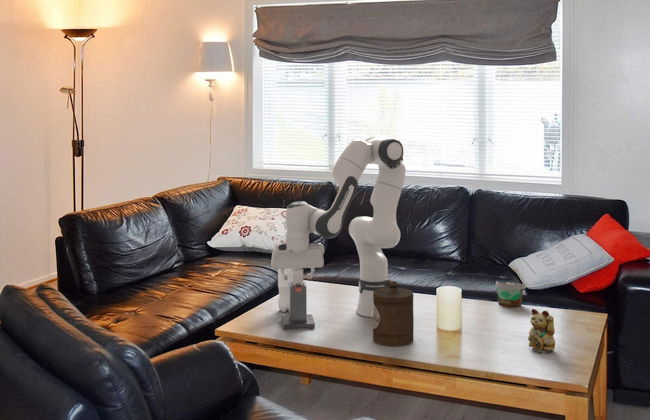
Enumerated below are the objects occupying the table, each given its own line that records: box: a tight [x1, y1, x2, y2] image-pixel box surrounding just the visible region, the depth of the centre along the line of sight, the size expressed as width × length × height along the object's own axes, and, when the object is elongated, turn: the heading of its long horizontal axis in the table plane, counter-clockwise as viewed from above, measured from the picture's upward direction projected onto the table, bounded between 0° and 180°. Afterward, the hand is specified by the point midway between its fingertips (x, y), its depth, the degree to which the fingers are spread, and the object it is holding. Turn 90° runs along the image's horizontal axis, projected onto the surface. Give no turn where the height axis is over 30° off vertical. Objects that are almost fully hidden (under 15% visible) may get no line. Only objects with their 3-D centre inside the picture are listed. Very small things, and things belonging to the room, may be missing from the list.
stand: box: [281, 281, 316, 331], centre depth 307 cm, size 12×12×17 cm
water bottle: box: [277, 268, 292, 313], centre depth 325 cm, size 7×7×25 cm
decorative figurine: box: [527, 308, 556, 354], centre depth 278 cm, size 10×8×15 cm
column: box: [292, 268, 304, 286], centre depth 307 cm, size 4×4×20 cm
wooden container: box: [372, 280, 415, 347], centre depth 288 cm, size 15×15×22 cm
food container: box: [495, 280, 526, 309], centre depth 332 cm, size 12×6×10 cm, turn 68°
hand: (297, 279), depth 306 cm, fingers open, 8 cm apart
